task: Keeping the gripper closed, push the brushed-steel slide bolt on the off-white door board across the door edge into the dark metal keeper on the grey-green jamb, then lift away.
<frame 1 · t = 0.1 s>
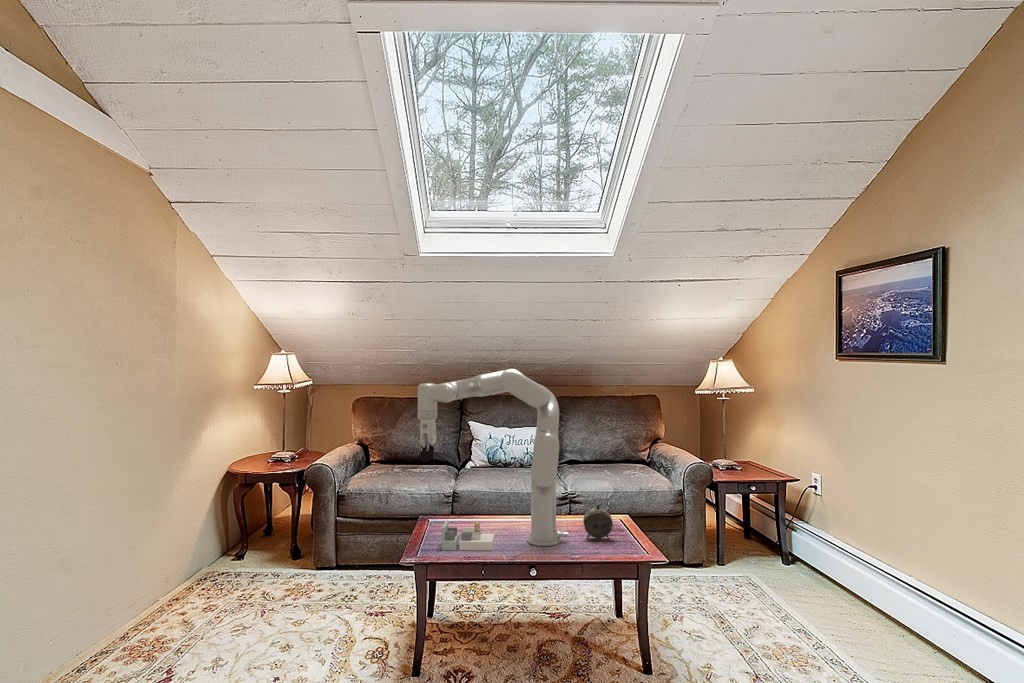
hand: (427, 459, 217), 31 cm above the table, fingers open, 9 cm apart
alarm clock: (598, 540, 215), on the table
door board: (469, 545, 209), on the table
bolt: (471, 529, 209), point 6 cm above the table, slide at 0.0 cm
door jamb: (450, 534, 210), on the table
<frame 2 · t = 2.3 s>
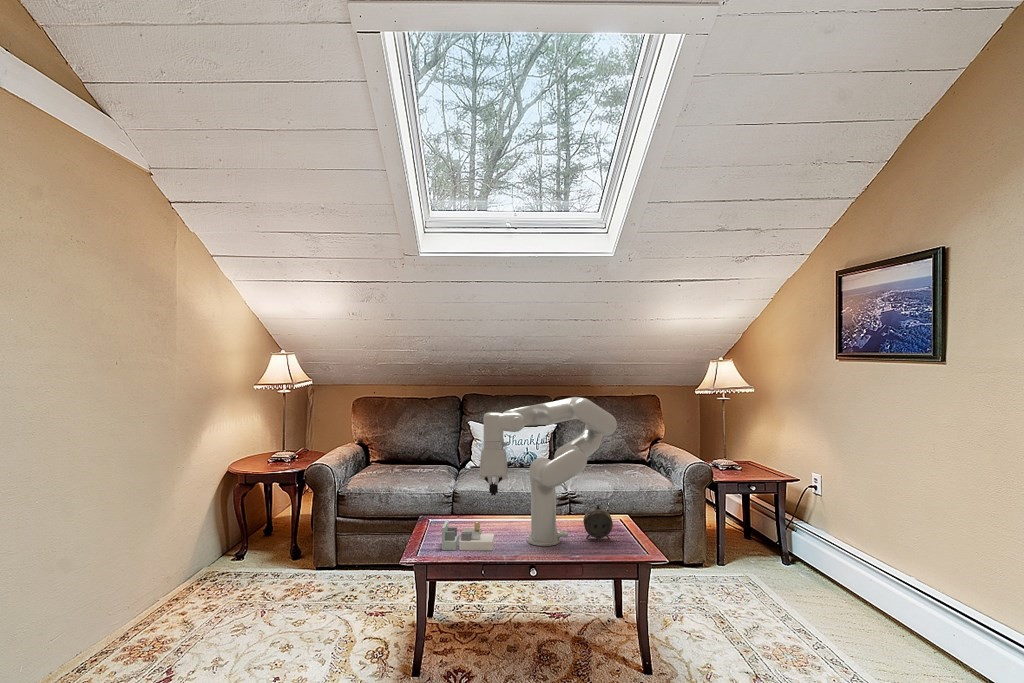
hand: (493, 494, 210), 19 cm above the table, fingers closed
nothing on the table moved.
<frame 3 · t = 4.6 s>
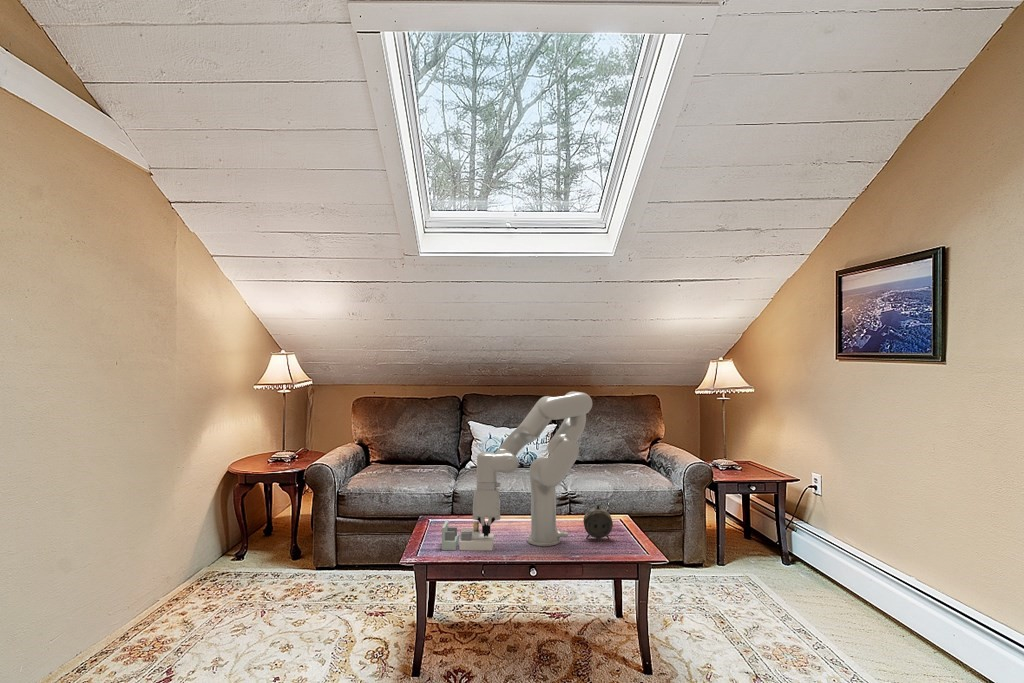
hand: (486, 535, 209), 4 cm above the table, fingers closed
bolt: (470, 529, 209), point 6 cm above the table, slide at 0.4 cm, touching gripper
everything else where it was.
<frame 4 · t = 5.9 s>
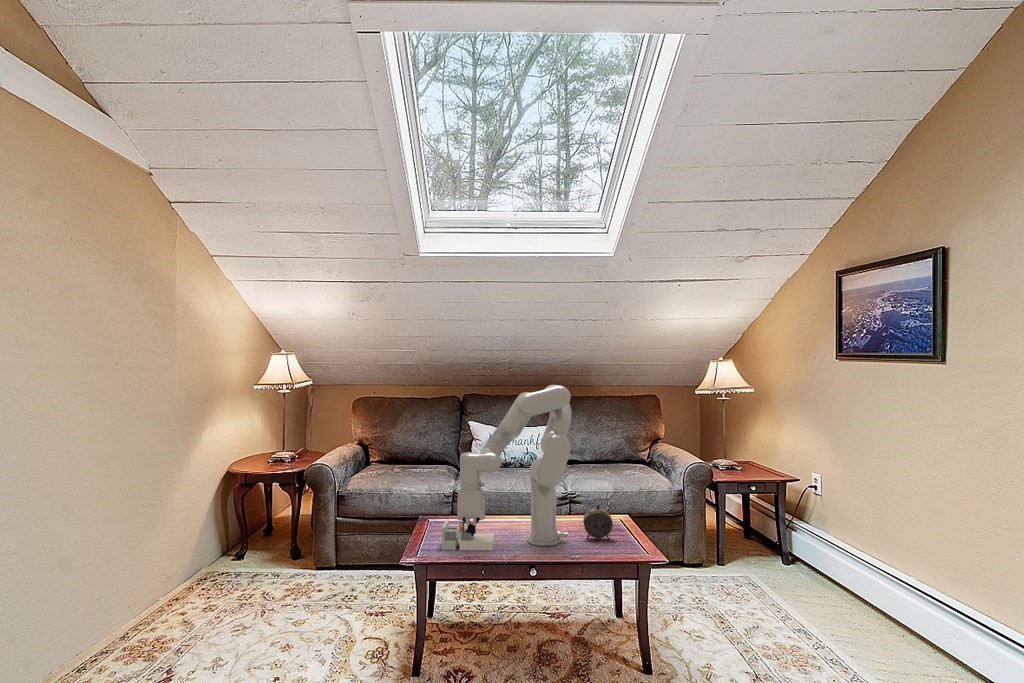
hand: (471, 535, 209), 4 cm above the table, fingers closed
bolt: (455, 529, 210), point 6 cm above the table, slide at 5.8 cm, touching door jamb, gripper
everything else where it was.
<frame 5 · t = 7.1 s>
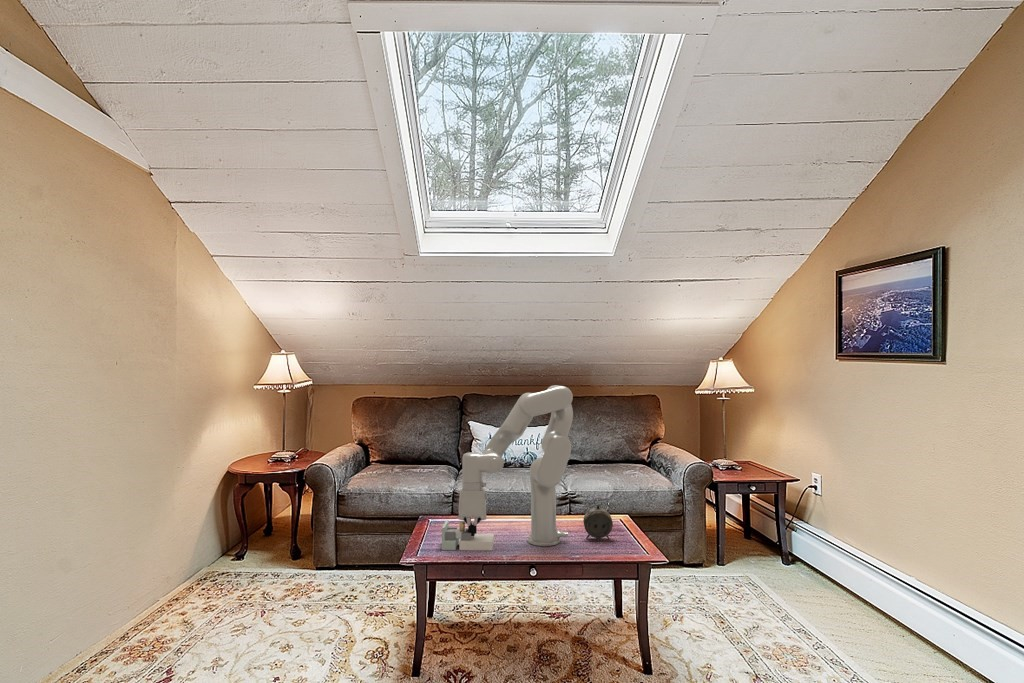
hand: (472, 535, 209), 4 cm above the table, fingers closed
bolt: (456, 529, 210), point 6 cm above the table, slide at 5.6 cm, touching gripper
everything else where it was.
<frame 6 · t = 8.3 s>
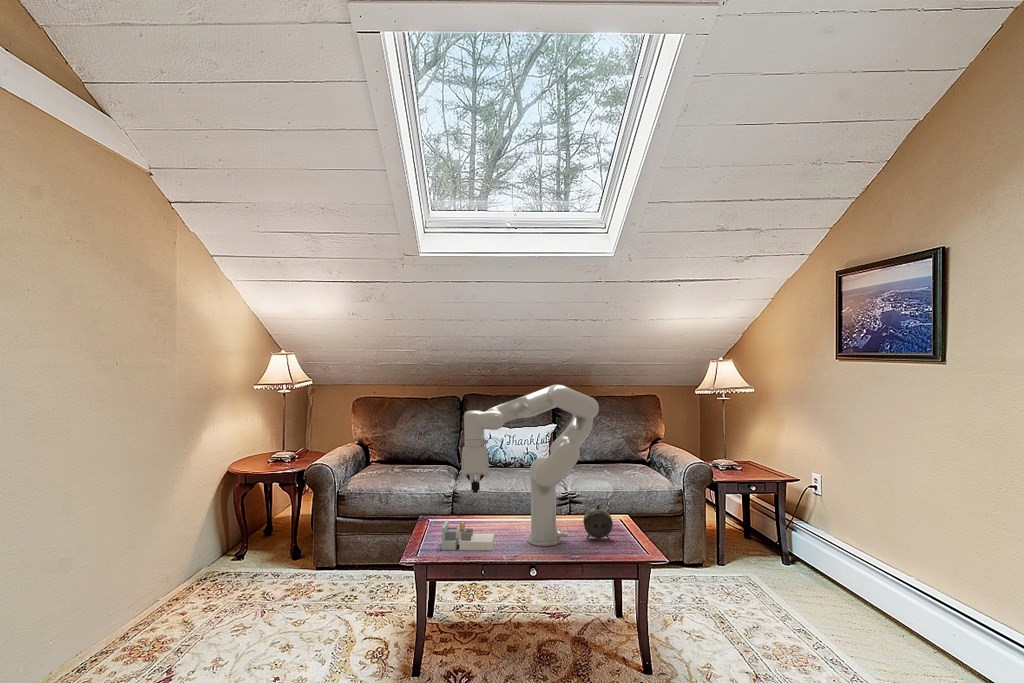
hand: (475, 492, 211), 20 cm above the table, fingers closed
bolt: (456, 529, 210), point 6 cm above the table, slide at 5.5 cm
everything else where it was.
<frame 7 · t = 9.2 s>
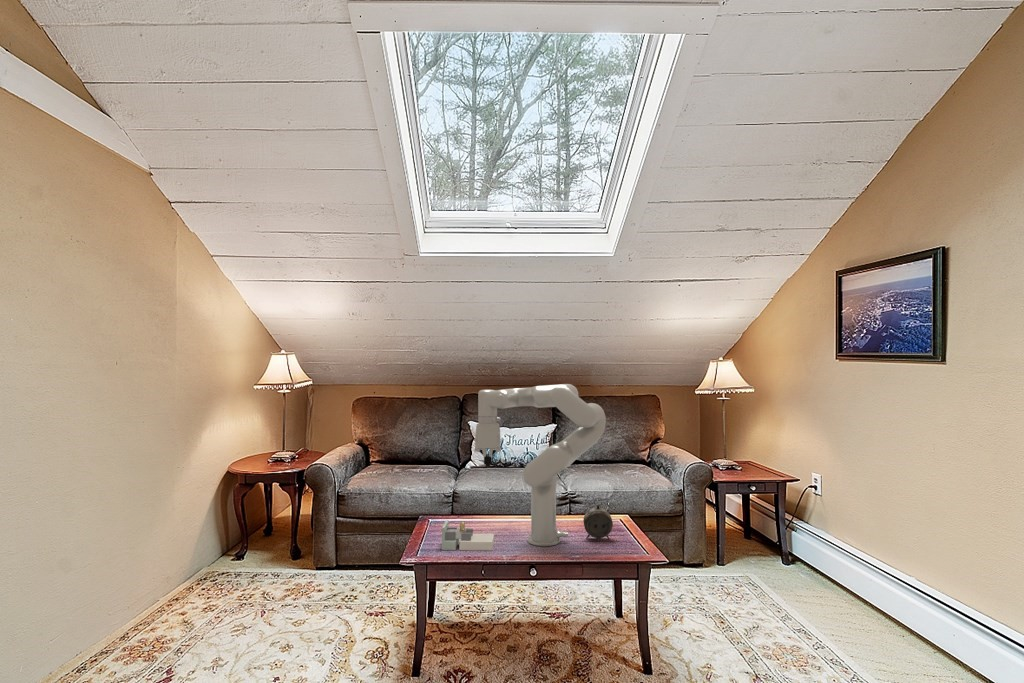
hand: (487, 466, 224), 27 cm above the table, fingers closed
nothing on the table moved.
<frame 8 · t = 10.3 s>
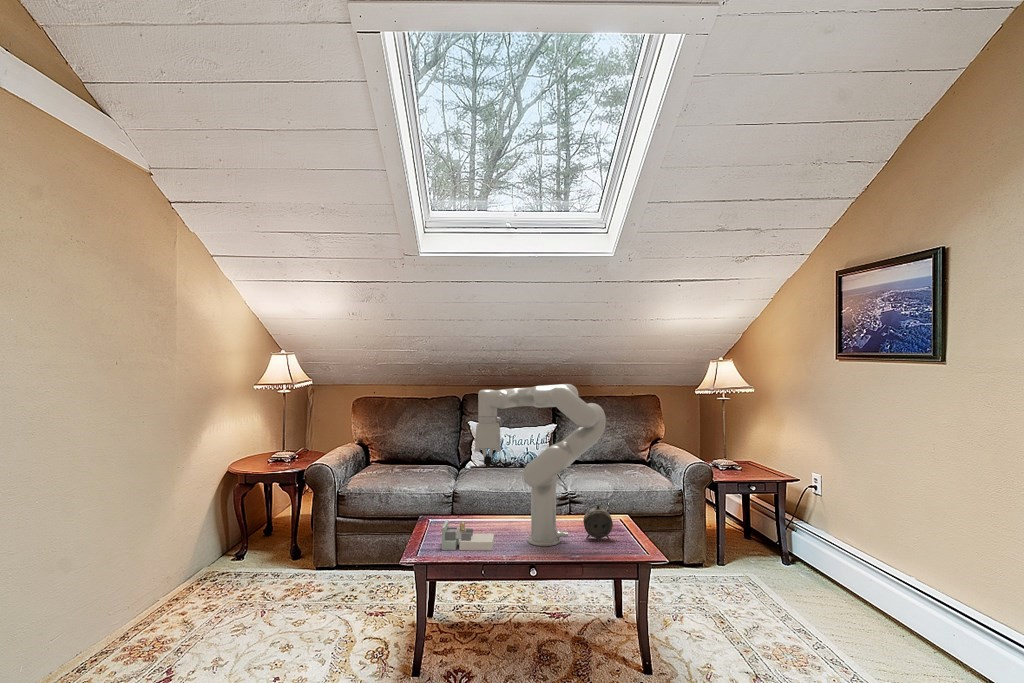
hand: (487, 466, 224), 27 cm above the table, fingers closed
nothing on the table moved.
at the end: bolt slide at 5.5 cm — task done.
